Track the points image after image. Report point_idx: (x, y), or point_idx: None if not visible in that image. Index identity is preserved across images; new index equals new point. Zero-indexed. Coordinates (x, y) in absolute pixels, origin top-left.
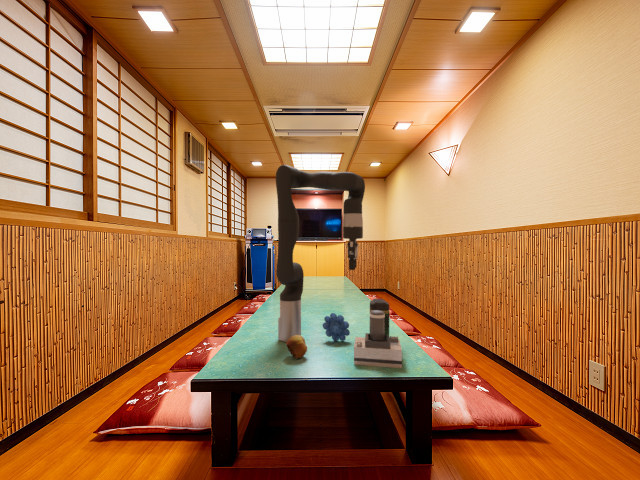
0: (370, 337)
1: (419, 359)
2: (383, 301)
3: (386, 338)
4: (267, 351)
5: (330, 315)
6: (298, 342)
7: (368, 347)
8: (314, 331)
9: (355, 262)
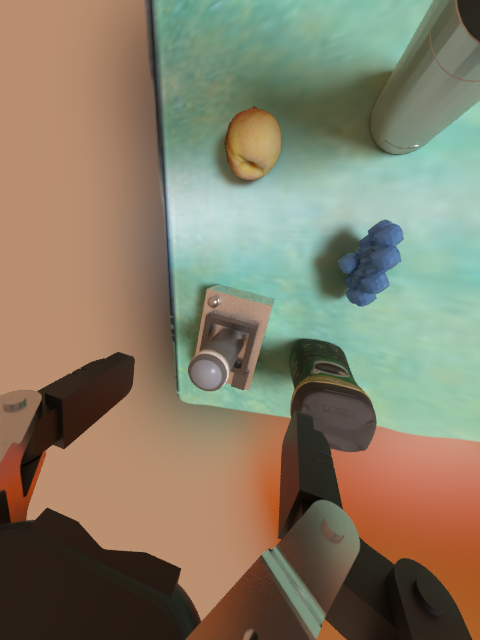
0: (224, 331)
1: (236, 397)
2: None
3: None
4: (304, 57)
5: (387, 246)
6: (227, 147)
7: (204, 317)
8: (477, 199)
9: (281, 482)
